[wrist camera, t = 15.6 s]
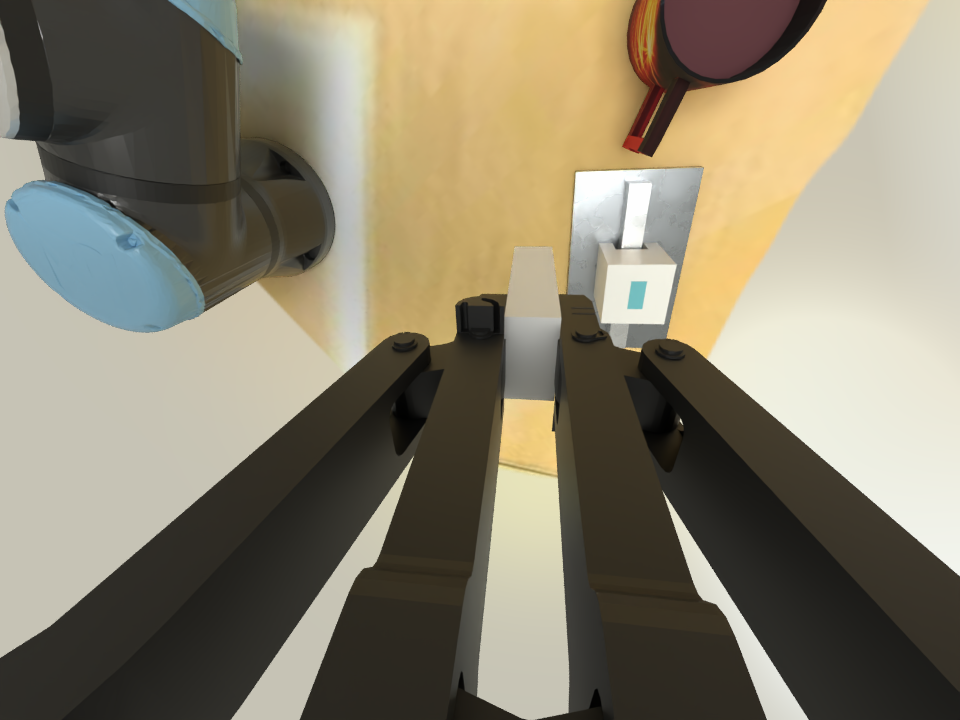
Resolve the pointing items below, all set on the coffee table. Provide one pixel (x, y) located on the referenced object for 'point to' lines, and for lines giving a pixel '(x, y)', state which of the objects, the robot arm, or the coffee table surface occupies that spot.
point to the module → (633, 284)
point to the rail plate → (606, 226)
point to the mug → (705, 50)
